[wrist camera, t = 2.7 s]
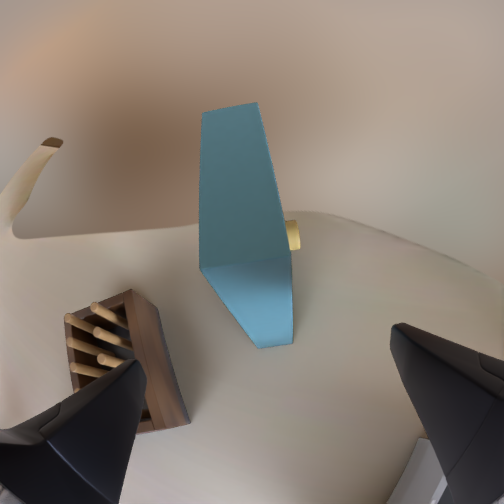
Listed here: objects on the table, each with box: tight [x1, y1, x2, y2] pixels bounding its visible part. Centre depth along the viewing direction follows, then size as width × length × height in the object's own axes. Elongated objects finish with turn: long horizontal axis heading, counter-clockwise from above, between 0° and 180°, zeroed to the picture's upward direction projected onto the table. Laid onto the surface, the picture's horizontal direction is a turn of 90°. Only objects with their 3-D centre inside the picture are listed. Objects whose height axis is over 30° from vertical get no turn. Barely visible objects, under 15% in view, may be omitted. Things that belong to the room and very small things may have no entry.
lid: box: [199, 103, 300, 348], centre depth 16 cm, size 8×4×14 cm, turn 6°
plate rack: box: [64, 289, 190, 435], centre depth 17 cm, size 10×7×6 cm
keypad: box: [386, 437, 498, 504], centre depth 9 cm, size 10×4×15 cm
